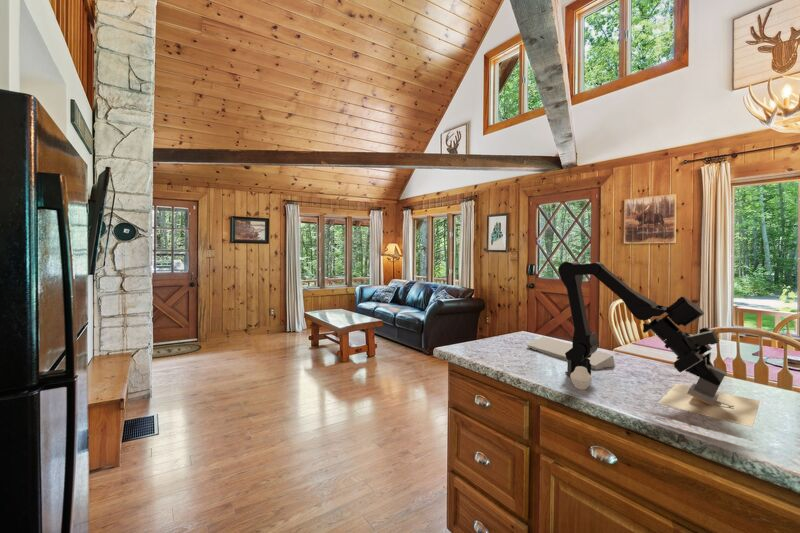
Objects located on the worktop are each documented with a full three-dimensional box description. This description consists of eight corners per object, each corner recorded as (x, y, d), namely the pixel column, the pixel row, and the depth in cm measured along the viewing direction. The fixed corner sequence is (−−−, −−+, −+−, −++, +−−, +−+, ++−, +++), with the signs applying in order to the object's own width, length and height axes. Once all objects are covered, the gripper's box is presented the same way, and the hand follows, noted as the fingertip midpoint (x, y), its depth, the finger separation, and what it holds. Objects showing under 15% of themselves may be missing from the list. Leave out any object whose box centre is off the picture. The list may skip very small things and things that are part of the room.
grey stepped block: (686, 393, 105) (700, 365, 103) (691, 388, 109) (704, 361, 107) (713, 406, 101) (728, 377, 99) (716, 400, 105) (731, 372, 103)
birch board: (654, 408, 103) (654, 403, 103) (674, 386, 120) (674, 382, 120) (754, 434, 89) (755, 428, 89) (762, 405, 105) (762, 400, 105)
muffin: (569, 389, 117) (570, 367, 117) (569, 383, 123) (570, 362, 122) (592, 392, 115) (592, 370, 114) (591, 386, 120) (591, 364, 120)
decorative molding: (597, 377, 137) (615, 367, 141) (594, 365, 137) (613, 355, 141) (528, 354, 168) (545, 346, 172) (526, 344, 168) (543, 336, 172)
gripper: (690, 323, 99) (745, 374, 92) (703, 315, 112) (752, 359, 104) (654, 347, 105) (703, 397, 98) (670, 337, 118) (714, 381, 110)
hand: (720, 383), depth 102 cm, fingers closed on grey stepped block, 3 cm apart
